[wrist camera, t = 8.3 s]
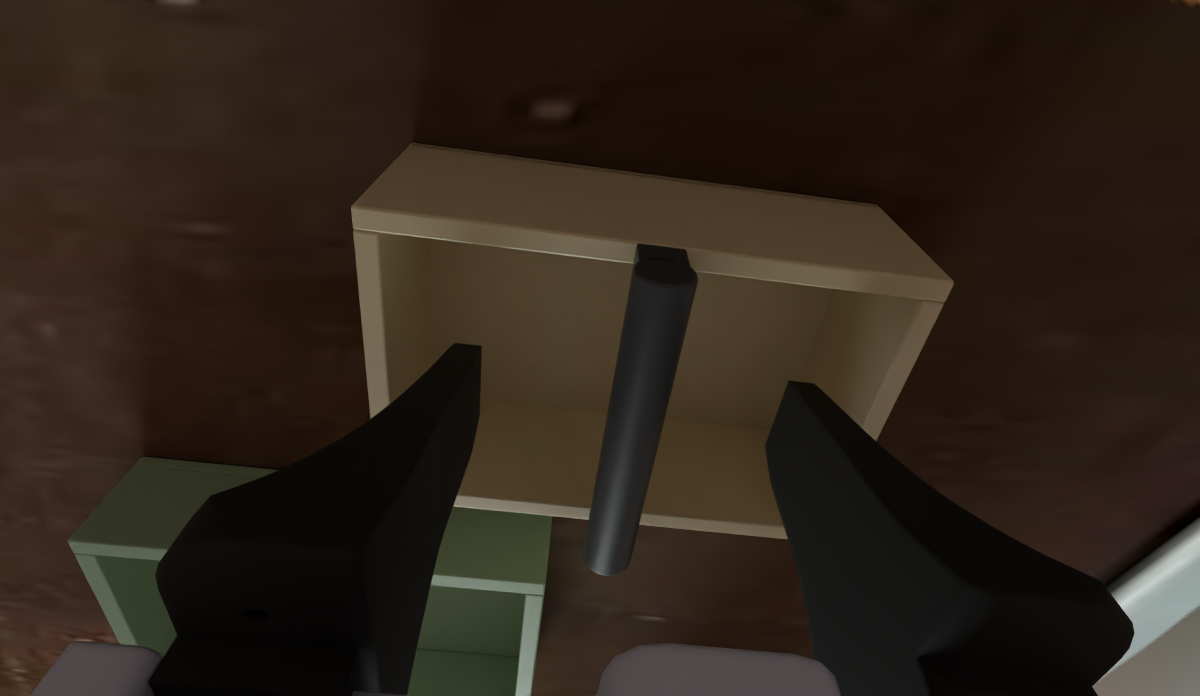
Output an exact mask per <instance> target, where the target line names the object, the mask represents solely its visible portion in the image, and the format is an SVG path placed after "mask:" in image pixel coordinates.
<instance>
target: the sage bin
mask: <svg viewBox="0 0 1200 696" xmlns="http://www.w3.org/2000/svg"><path fill="white" fill-rule="evenodd" d="M275 471H278V470H274V469H263V468H253V467H243V466H233V465H223V464H213V463H203V462H193V461H183V460H173V459H163V458H153V457H141V458H140V460H139V461H138V462H137V463H136V465H134V466H133V468H132V469H131V470H130V471H129V472H128V473H127V474H126V475H125V476H124V478H123V479H122V480H121V481H120V482H119V483H118V484H117V485H116V486H115V488H114V489H113V490H112V491H111V492H110V493H109V494H108V495H107V496H106V498H105V499H104V500H103V501H102V502H101V503H100V504H99V505H98V506H97V508H96V509H95V510H94V511H93V512H92V513H91V514H90V515H89V516H88V518H87V519H86V520H85V521H84V522H83V523H82V524H81V525H80V526H79V528H78V529H77V530H76V531H75V532H74V533H73V534H72V535H71V536H70V538H69V539H68V543H69V545H70V547H71V549H72V551H73V552H74V555H75V557H76V559H77V561H78V563H79V565H80V567H81V569H82V571H83V573H84V574H85V576H86V578H87V580H88V582H89V584H90V586H91V588H92V590H93V592H94V594H95V596H96V598H97V600H98V602H99V604H100V606H101V608H102V610H103V612H104V614H105V616H106V618H107V620H108V621H109V623H110V625H111V627H112V629H113V631H114V633H115V635H116V637H117V639H118V641H119V643H120V644H123V645H135V646H142V647H147V648H151V649H153V650H155V651H157V652H159V653H160V654H161V655H162V656H163V657H164V656H165V654H166V652H167V651H168V649H169V647H170V646H171V644H172V643H173V641H174V639H175V638H176V636H177V634H176V631H175V629H174V626H173V624H172V622H171V619H170V617H169V614H168V612H167V610H166V607H165V605H164V602H163V600H162V598H161V595H160V593H159V590H158V587H157V582H156V577H155V574H156V570H157V567H158V563H159V562H160V560H161V559H162V557H163V556H164V555H165V553H166V552H167V550H168V549H169V548H170V546H171V545H172V543H173V542H174V541H175V539H176V538H177V536H178V535H179V534H180V532H181V531H182V529H183V528H184V527H185V525H186V524H187V523H188V521H189V520H190V519H191V518H192V516H193V515H194V514H195V513H196V511H197V510H198V509H199V508H200V507H201V506H202V505H203V504H204V503H205V501H206V500H207V499H208V498H209V497H210V496H211V495H213V494H216V493H219V492H222V491H225V490H228V489H231V488H233V487H236V486H239V485H242V484H245V483H247V482H250V481H253V480H256V479H258V478H261V477H263V476H266V475H268V474H271V473H273V472H275ZM551 526H552V516H548V515H538V514H527V513H517V512H507V511H497V510H487V509H477V508H467V507H457V506H453V508H452V511H451V514H450V517H449V520H448V523H447V526H446V528H445V531H444V535H443V538H442V541H441V545H440V548H439V552H438V556H437V561H436V565H435V569H434V573H433V578H432V582H431V586H430V590H429V595H428V599H427V604H426V608H425V613H424V617H423V622H422V626H421V631H420V635H419V640H418V645H417V650H416V654H415V659H414V664H413V669H412V673H411V678H410V683H409V688H408V693H407V695H410V696H531V695H532V687H533V680H534V672H535V664H536V656H537V649H538V641H539V633H540V625H541V617H542V610H543V602H544V594H545V586H546V577H547V567H548V557H549V547H550V536H551Z"/></svg>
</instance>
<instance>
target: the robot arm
mask: <svg viewBox="0 0 1200 696" xmlns="http://www.w3.org/2000/svg"><path fill="white" fill-rule="evenodd" d="M481 358H482V346H479V345H471V344H462V343H454V344H453V345H451V346H450V347H449V348H448V349H447V350H446V351H445V353H444V354H443V355H442V356H441V357H440V358H439V359H438V360H437V361H436V362H435V363H434V364H433V365H432V366H431V367H430V368H429V369H428V370H427V371H426V372H425V373H424V374H423V375H422V376H421V377H420V378H419V379H418V380H417V381H415V382H414V383H413V384H412V385H411V386H410V387H409V388H408V389H407V390H406V391H405V392H403V393H402V394H401V395H400V396H399V397H398V398H396V399H395V400H394V401H393V402H391V403H390V404H389V405H388V406H387V407H385V408H384V409H383V410H382V411H380V412H379V413H378V414H376V415H375V416H374V417H372V418H371V419H370V420H368V421H367V422H365V423H364V424H363V425H361V426H360V427H358V428H357V429H355V430H354V431H352V432H351V433H349V434H348V435H346V436H344V437H343V438H341V439H339V440H337V441H335V442H334V443H332V444H330V445H328V446H326V447H325V448H323V449H321V450H319V451H317V452H316V453H314V454H312V455H310V456H308V457H306V458H304V459H302V460H300V461H298V462H296V463H293V464H291V465H289V466H287V467H285V468H282V469H280V470H278V471H275V472H273V473H271V474H268V475H266V476H263V477H261V478H258V479H256V480H253V481H250V482H247V483H245V484H242V485H239V486H236V487H233V488H231V489H228V490H225V491H222V492H219V493H216V494H213V495H211V496H210V497H209V498H208V499H207V500H206V501H205V503H204V504H203V505H202V506H201V507H200V508H199V509H198V510H197V511H196V513H195V514H194V515H193V516H192V518H191V519H190V520H189V521H188V523H187V524H186V525H185V527H184V528H183V529H182V531H181V532H180V534H179V535H178V536H177V538H176V539H175V541H174V542H173V543H172V545H171V546H170V548H169V549H168V550H167V552H166V553H165V555H164V556H163V557H162V559H161V560H160V562H159V563H158V567H157V570H156V574H155V577H156V582H157V587H158V590H159V593H160V595H161V598H162V600H163V602H164V605H165V607H166V610H167V612H168V614H169V617H170V619H171V622H172V624H173V626H174V629H175V631H176V634H177V636H176V638H175V639H174V641H173V643H172V644H171V646H170V647H169V649H168V651H167V652H166V654H165V656H164V657H163V656H162V655H161V654H160V653H159V652H157V651H155V650H153V649H151V648H147V647H142V646H135V645H123V644H110V643H98V642H86V641H76V642H72V643H70V644H69V645H68V646H67V648H66V649H65V650H64V652H63V653H62V654H61V656H60V657H59V658H58V659H57V661H56V662H55V663H54V665H53V666H52V667H51V669H50V670H49V671H48V673H47V674H46V675H45V676H44V678H43V679H42V680H41V682H40V683H39V684H38V686H37V687H36V688H35V690H34V691H33V692H32V693H31V695H30V696H410V695H407V693H408V688H409V683H410V678H411V673H412V669H413V664H414V659H415V654H416V650H417V645H418V640H419V635H420V631H421V626H422V622H423V617H424V613H425V608H426V604H427V599H428V595H429V590H430V586H431V582H432V578H433V573H434V569H435V565H436V561H437V556H438V552H439V548H440V545H441V541H442V538H443V535H444V531H445V528H446V526H447V523H448V520H449V517H450V514H451V511H452V508H453V506H454V503H455V500H456V497H457V494H458V491H459V488H460V486H461V483H462V480H463V477H464V474H465V471H466V468H467V465H468V463H469V460H470V457H471V454H472V450H473V445H474V441H475V436H476V431H477V426H478V422H479V417H480V392H481ZM765 449H766V456H767V464H768V470H769V476H770V482H771V486H772V489H773V493H774V496H775V499H776V503H777V506H778V509H779V512H780V516H781V519H782V522H783V525H784V528H785V532H786V535H787V538H788V541H789V544H790V548H791V551H792V554H793V557H794V560H795V564H796V567H797V571H798V575H799V579H800V583H801V587H802V593H803V598H804V603H805V608H806V613H807V619H808V624H809V630H810V636H811V642H812V648H813V654H814V659H810V658H806V657H802V656H799V655H795V654H788V653H777V652H765V651H753V650H742V649H730V648H719V647H707V646H696V645H684V644H673V643H661V644H646V645H639V646H636V647H634V648H632V649H629V650H627V651H624V652H622V653H620V654H618V655H617V656H615V657H614V658H613V659H612V661H611V662H610V663H609V665H608V666H607V667H606V669H605V670H604V671H603V673H602V677H601V681H600V685H599V689H598V692H597V694H596V695H588V696H1098V695H1097V694H1096V692H1095V691H1094V689H1093V687H1092V686H1093V685H1094V684H1095V683H1096V682H1097V681H1098V680H1099V679H1100V678H1101V677H1102V676H1103V675H1104V674H1106V673H1107V672H1108V671H1109V670H1110V669H1111V668H1112V667H1113V666H1114V665H1115V664H1116V663H1117V662H1118V661H1119V660H1120V659H1121V658H1122V657H1123V655H1124V654H1125V653H1126V652H1127V650H1128V649H1129V648H1130V645H1131V642H1132V639H1133V636H1134V629H1133V624H1132V622H1131V620H1130V619H1129V618H1128V616H1127V615H1126V614H1125V612H1124V611H1123V610H1122V608H1121V607H1120V606H1119V604H1118V603H1117V602H1116V600H1115V599H1114V598H1113V596H1112V595H1111V594H1110V592H1109V591H1108V590H1107V588H1106V587H1105V586H1104V584H1103V583H1102V582H1101V581H1100V580H1098V579H1095V578H1093V577H1091V576H1089V575H1087V574H1085V573H1082V572H1080V571H1078V570H1076V569H1074V568H1072V567H1069V566H1067V565H1065V564H1063V563H1061V562H1059V561H1056V560H1054V559H1052V558H1050V557H1048V556H1046V555H1044V554H1042V553H1040V552H1038V551H1036V550H1034V549H1032V548H1030V547H1028V546H1027V545H1025V544H1023V543H1021V542H1019V541H1017V540H1015V539H1013V538H1011V537H1010V536H1008V535H1006V534H1004V533H1003V532H1001V531H999V530H997V529H996V528H994V527H992V526H990V525H989V524H987V523H986V522H984V521H982V520H981V519H979V518H978V517H976V516H974V515H973V514H971V513H969V512H968V511H966V510H965V509H963V508H961V507H960V506H958V505H957V504H955V503H954V502H953V501H951V500H950V499H948V498H947V497H945V496H944V495H942V494H941V493H940V492H938V491H937V490H936V489H934V488H933V487H931V486H930V485H929V484H927V483H926V482H925V481H923V480H922V479H920V478H919V477H918V476H917V475H915V474H914V473H913V472H911V471H910V470H909V469H908V468H907V467H905V466H904V465H903V464H902V463H901V462H899V461H898V460H897V459H896V458H895V457H893V456H892V455H891V454H890V453H889V452H888V451H886V450H885V449H884V448H883V447H882V446H881V445H880V444H879V443H877V442H876V441H875V440H874V439H873V438H872V437H871V436H870V435H869V434H868V433H867V432H865V431H864V430H863V429H862V428H861V427H860V426H859V425H858V424H857V423H856V422H855V421H854V420H853V419H852V418H851V417H850V416H849V415H848V414H847V413H846V412H845V411H843V410H842V409H841V408H840V407H839V406H838V405H837V404H836V403H835V402H834V401H833V400H832V399H831V398H830V397H829V396H828V395H827V394H826V393H825V392H823V391H822V390H821V389H820V388H819V387H818V386H817V385H815V384H814V383H806V382H798V381H788V384H787V386H786V389H785V392H784V395H783V397H782V400H781V403H780V406H779V408H778V411H777V414H776V417H775V419H774V422H773V425H772V428H771V430H770V433H769V436H768V439H767V441H766V444H765Z"/></svg>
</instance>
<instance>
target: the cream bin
mask: <svg viewBox="0 0 1200 696" xmlns="http://www.w3.org/2000/svg"><path fill="white" fill-rule="evenodd" d="M351 213H352V224H353V228H354V231H353V235H354V245H355V256H356V267H357V278H358V289H359V300H360V310H361V321H362V332H363V343H364V354H365V364H366V375H367V386H368V397H369V408H370V418H372V417H374V416H375V415H376V414H378V413H379V412H380V411H382V410H383V409H384V408H385V407H387V406H388V405H389V404H390V403H391V402H393V401H394V400H395V399H396V398H398V397H399V396H400V395H401V394H402V393H403V392H405V391H406V390H407V389H408V388H409V387H410V386H411V385H412V384H413V383H414V382H415V381H417V380H418V379H419V378H420V377H421V376H422V375H423V374H424V373H425V372H426V371H427V370H428V369H429V368H430V367H431V366H432V365H433V364H434V363H435V362H436V361H437V360H438V359H439V358H440V357H441V356H442V355H443V354H444V353H445V351H446V350H447V349H448V348H449V347H450V346H451V345H453V344H454V343H462V344H471V345H479V346H482V358H481V392H480V417H479V422H478V426H477V431H476V436H475V441H474V445H473V450H472V454H471V457H470V460H469V463H468V465H467V468H466V471H465V474H464V477H463V480H462V483H461V486H460V488H459V491H458V494H457V497H456V500H455V503H454V506H457V507H467V508H477V509H487V510H497V511H507V512H517V513H527V514H538V515H548V516H558V517H568V518H578V519H588V526H587V532H586V538H585V543H584V549H583V557H584V560H585V562H586V564H587V565H588V567H589V568H590V569H591V570H593V571H594V572H596V573H598V574H601V575H605V576H613V575H617V574H620V573H621V572H623V571H624V570H625V569H626V568H627V567H628V566H629V564H630V560H631V556H632V552H633V548H634V544H635V540H636V536H637V531H638V527H639V525H649V526H659V527H669V528H679V529H690V530H700V531H710V532H720V533H730V534H740V535H750V536H760V537H771V538H781V539H788V538H787V535H786V532H785V528H784V525H783V522H782V519H781V516H780V512H779V509H778V506H777V503H776V499H775V496H774V493H773V489H772V486H771V482H770V476H769V470H768V464H767V456H766V449H765V444H766V441H767V439H768V436H769V433H770V430H771V428H772V425H773V422H774V419H775V417H776V414H777V411H778V408H779V406H780V403H781V400H782V397H783V395H784V392H785V389H786V386H787V384H788V381H798V382H806V383H814V384H815V385H817V386H818V387H819V388H820V389H821V390H822V391H823V392H825V393H826V394H827V395H828V396H829V397H830V398H831V399H832V400H833V401H834V402H835V403H836V404H837V405H838V406H839V407H840V408H841V409H842V410H843V411H845V412H846V413H847V414H848V415H849V416H850V417H851V418H852V419H853V420H854V421H855V422H856V423H857V424H858V425H859V426H860V427H861V428H862V429H863V430H864V431H865V432H867V433H868V434H869V435H870V436H871V437H872V438H873V439H874V440H875V441H876V440H877V438H878V436H879V434H880V432H881V430H882V428H883V426H884V424H885V422H886V420H887V418H888V416H889V414H890V412H891V410H892V408H893V406H894V404H895V402H896V400H897V398H898V396H899V394H900V392H901V390H902V388H903V386H904V384H905V382H906V380H907V378H908V376H909V374H910V372H911V370H912V368H913V366H914V364H915V362H916V360H917V358H918V356H919V354H920V352H921V350H922V347H923V345H924V343H925V341H926V339H927V337H928V335H929V333H930V331H931V329H932V327H933V325H934V323H935V321H936V319H937V317H938V315H939V313H940V311H941V309H942V307H943V302H945V301H946V299H947V297H948V295H949V293H950V291H951V289H952V287H953V285H954V281H953V280H952V279H951V278H950V277H949V276H948V275H947V274H946V273H945V272H944V271H943V270H942V269H941V268H940V267H939V266H938V265H937V264H936V263H935V262H934V261H933V260H932V259H931V258H930V257H929V256H928V255H927V254H926V253H925V252H924V251H923V250H922V249H921V248H920V247H919V246H918V245H917V244H916V243H915V242H914V241H913V240H912V239H911V238H910V237H909V236H908V235H907V234H906V233H905V232H904V231H903V230H902V229H901V228H900V227H899V226H898V225H897V224H896V223H895V222H894V221H893V220H892V219H891V218H890V217H889V216H888V215H887V214H886V213H885V212H884V211H883V210H882V209H881V208H880V207H879V206H878V205H876V204H868V203H861V202H853V201H846V200H838V199H831V198H823V197H816V196H808V195H801V194H793V193H786V192H778V191H771V190H763V189H756V188H748V187H741V186H733V185H726V184H718V183H711V182H703V181H696V180H688V179H681V178H673V177H666V176H658V175H651V174H643V173H636V172H628V171H621V170H613V169H606V168H598V167H591V166H583V165H576V164H568V163H561V162H553V161H546V160H538V159H531V158H523V157H516V156H508V155H501V154H493V153H486V152H478V151H471V150H463V149H456V148H448V147H441V146H433V145H426V144H418V143H411V144H410V145H409V146H408V147H407V148H406V149H405V150H404V151H403V153H402V154H401V155H400V156H399V157H398V158H397V159H396V160H395V161H394V162H393V163H392V164H391V165H390V166H389V167H388V168H387V169H386V170H385V171H384V172H383V173H382V174H381V175H380V176H379V178H378V179H377V180H376V181H375V182H374V183H373V184H372V185H371V186H370V187H369V188H368V189H367V190H366V191H365V192H364V193H363V194H362V195H361V196H360V197H359V198H358V199H357V200H356V201H355V202H354V204H353V205H352V206H351Z"/></svg>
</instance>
